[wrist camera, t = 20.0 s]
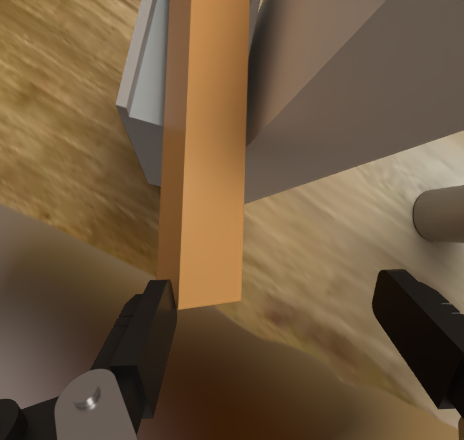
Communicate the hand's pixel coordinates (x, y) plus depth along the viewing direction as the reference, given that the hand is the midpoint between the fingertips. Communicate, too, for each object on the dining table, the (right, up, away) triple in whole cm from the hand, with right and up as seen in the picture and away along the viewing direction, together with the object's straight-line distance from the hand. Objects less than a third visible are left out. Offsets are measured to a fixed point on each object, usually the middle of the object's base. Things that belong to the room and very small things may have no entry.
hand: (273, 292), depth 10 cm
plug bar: (-4, +9, +4) cm, 11 cm away
